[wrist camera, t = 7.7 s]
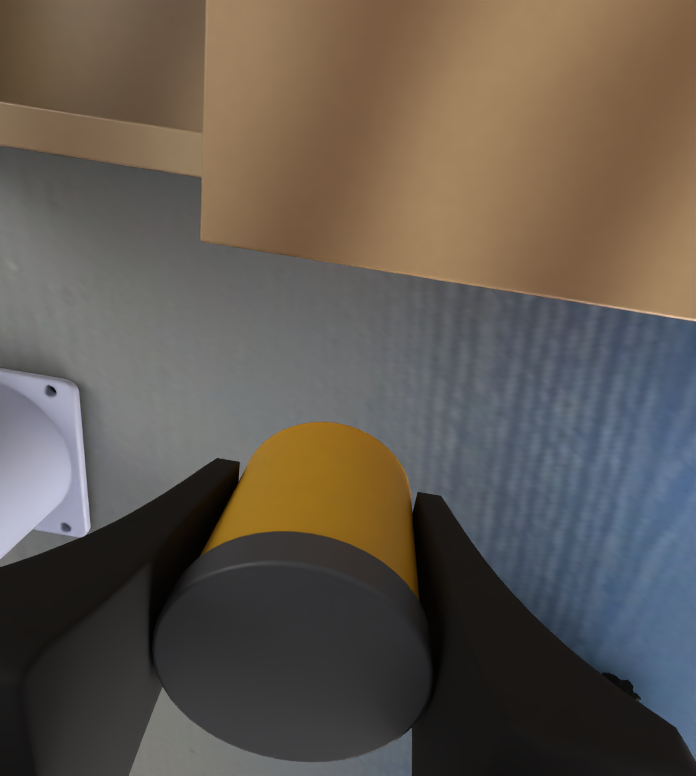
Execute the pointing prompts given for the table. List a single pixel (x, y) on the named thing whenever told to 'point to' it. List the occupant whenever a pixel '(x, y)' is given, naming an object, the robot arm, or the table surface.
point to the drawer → (105, 80)
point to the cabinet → (461, 142)
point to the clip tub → (304, 605)
